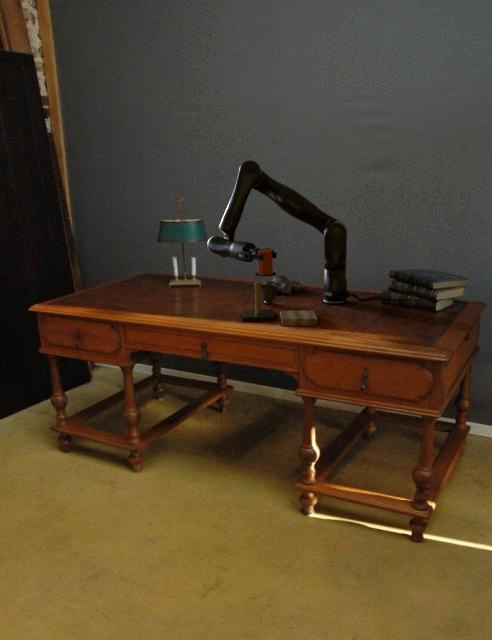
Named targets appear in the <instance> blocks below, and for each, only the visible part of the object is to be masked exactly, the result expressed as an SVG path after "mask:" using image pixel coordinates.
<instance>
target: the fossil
mask: <svg viewBox="0 0 492 640" xmlns="http://www.w3.org/2000/svg"><path fill="white" fill-rule="evenodd" d="M262 284H264V285H266V284H267V286H268V284H270V285H271V284H272V285H277V292H276V295H278V293H279V292H281V293H282V295H290V294H292V291H293V292H300V291H301V290H303V289H302V288H303V284H301V282H299V281H297V280H294V279H293V280H289V277H286V276H285V275H284V274H282V275H274V276H273V279H272V280H267V281H265V282H263V283H262Z"/></svg>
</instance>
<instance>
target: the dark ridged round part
mask: <svg viewBox="0 0 492 640" xmlns="http://www.w3.org/2000/svg"><path fill="white" fill-rule="evenodd" d="M276 292H277V285H272V284H271V285H270V284H268V286H267V284H266V285H264V284H263V283H262V284H261V300H263V303H264V305H267V306H271V305H273V303H274V300H275V299H276V297H277V294H276Z"/></svg>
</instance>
